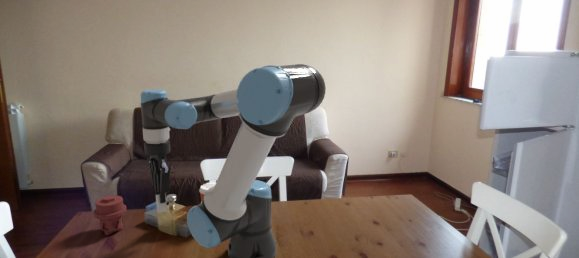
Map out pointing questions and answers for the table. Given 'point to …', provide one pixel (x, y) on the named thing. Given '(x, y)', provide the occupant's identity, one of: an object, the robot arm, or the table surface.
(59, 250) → the table surface
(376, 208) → the table surface
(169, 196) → the lever
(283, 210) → the table surface
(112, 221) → the mechanical component
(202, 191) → the coffee cup
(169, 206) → the pipe
